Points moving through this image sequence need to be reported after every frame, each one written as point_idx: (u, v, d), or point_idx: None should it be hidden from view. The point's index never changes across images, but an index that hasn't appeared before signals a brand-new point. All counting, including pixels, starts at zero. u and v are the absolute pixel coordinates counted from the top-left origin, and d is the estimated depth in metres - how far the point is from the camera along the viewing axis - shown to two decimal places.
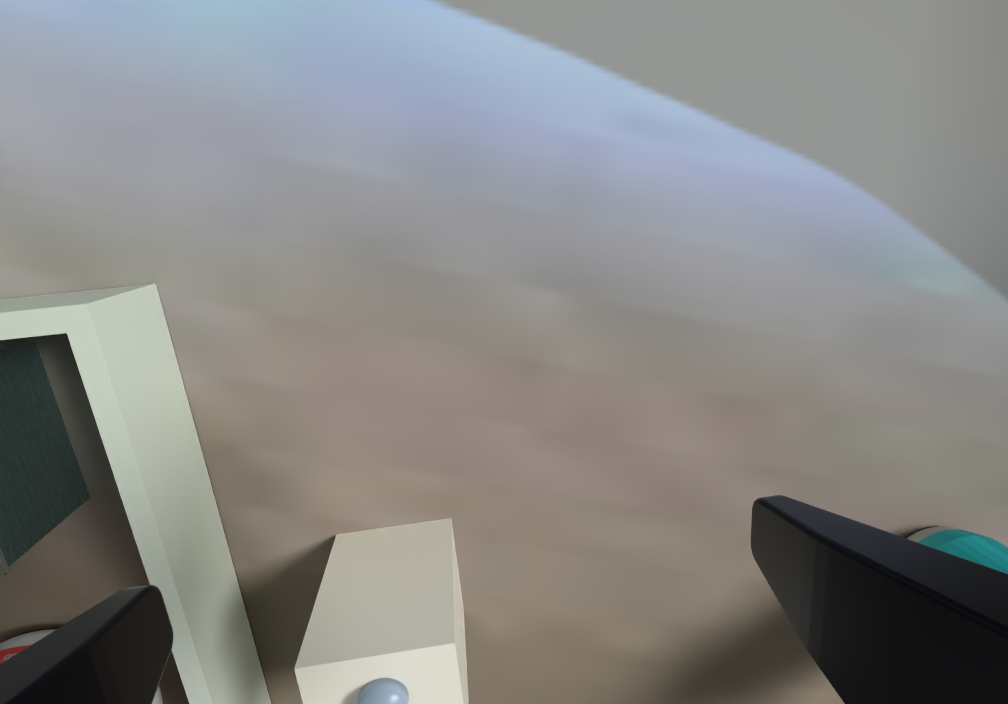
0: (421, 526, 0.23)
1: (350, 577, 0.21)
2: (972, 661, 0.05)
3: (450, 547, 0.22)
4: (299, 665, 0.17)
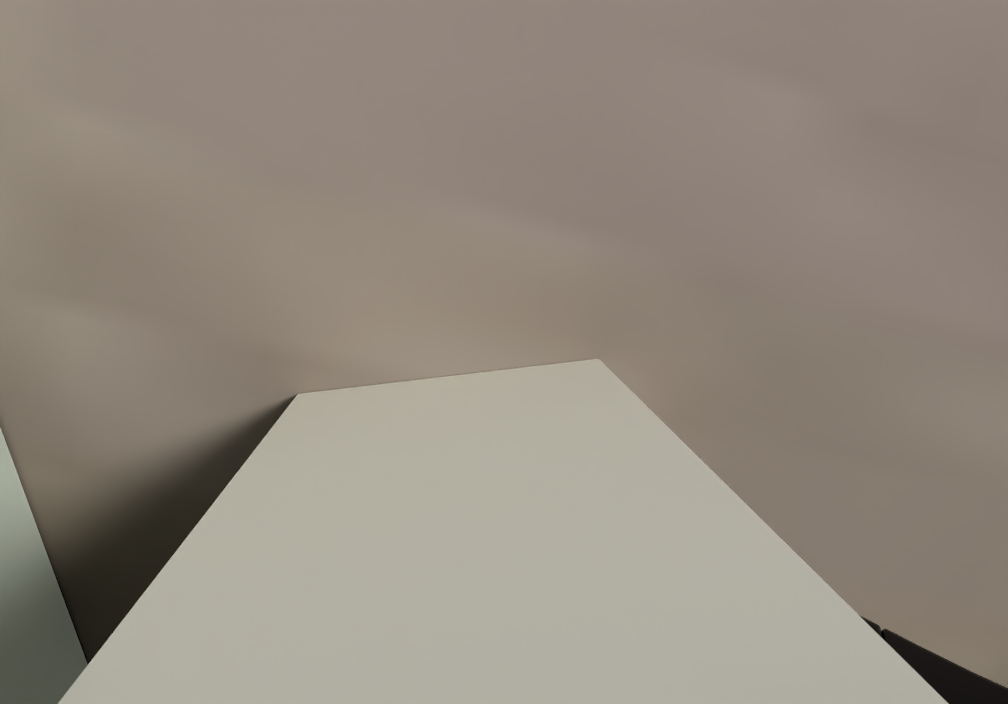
0: (525, 373, 0.09)
1: (326, 475, 0.06)
2: None
3: (637, 402, 0.07)
4: None
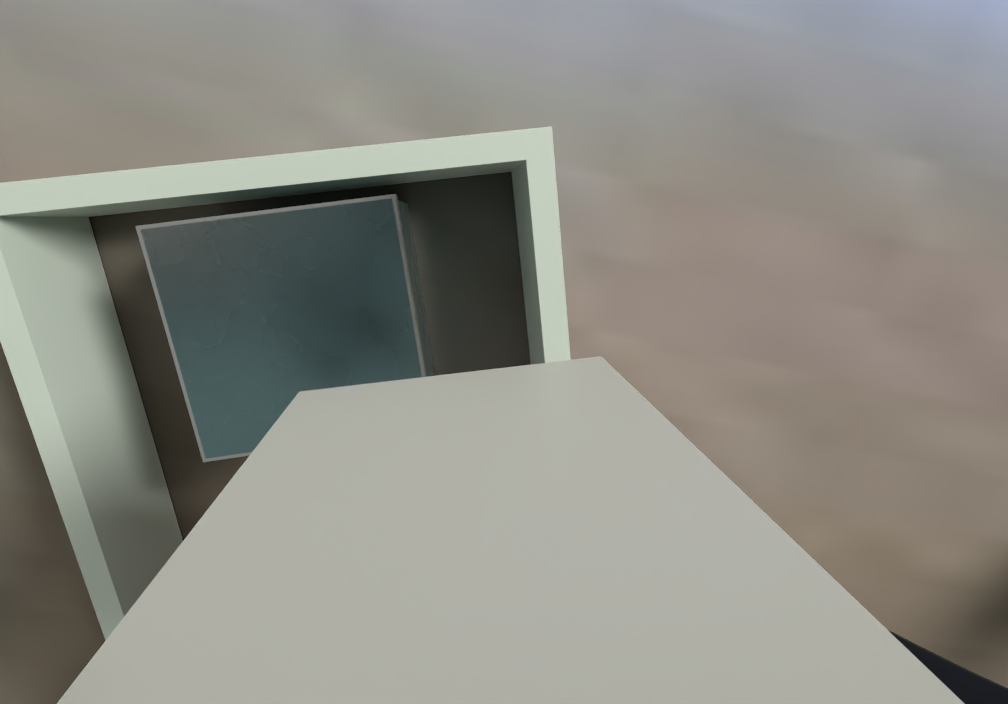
0: (528, 371, 0.09)
1: (328, 472, 0.06)
2: None
3: (641, 399, 0.07)
4: None
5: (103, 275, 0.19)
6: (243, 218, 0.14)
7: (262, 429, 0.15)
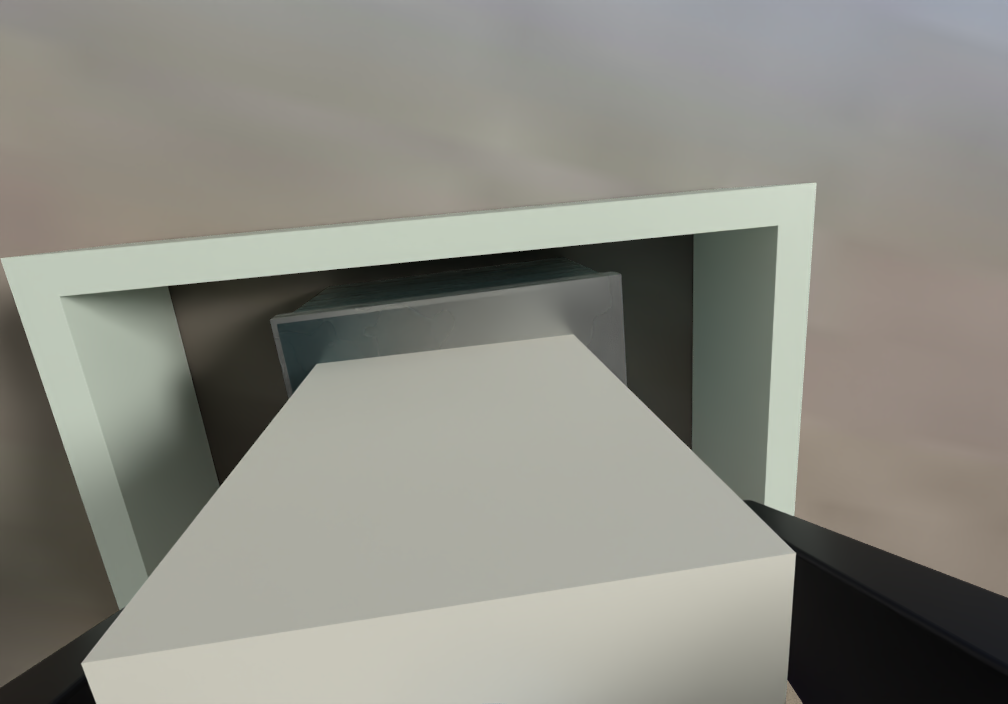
0: (510, 346, 0.10)
1: (348, 417, 0.07)
2: (923, 669, 0.05)
3: (600, 364, 0.09)
4: (112, 648, 0.04)
5: (181, 345, 0.14)
6: (417, 307, 0.10)
7: None
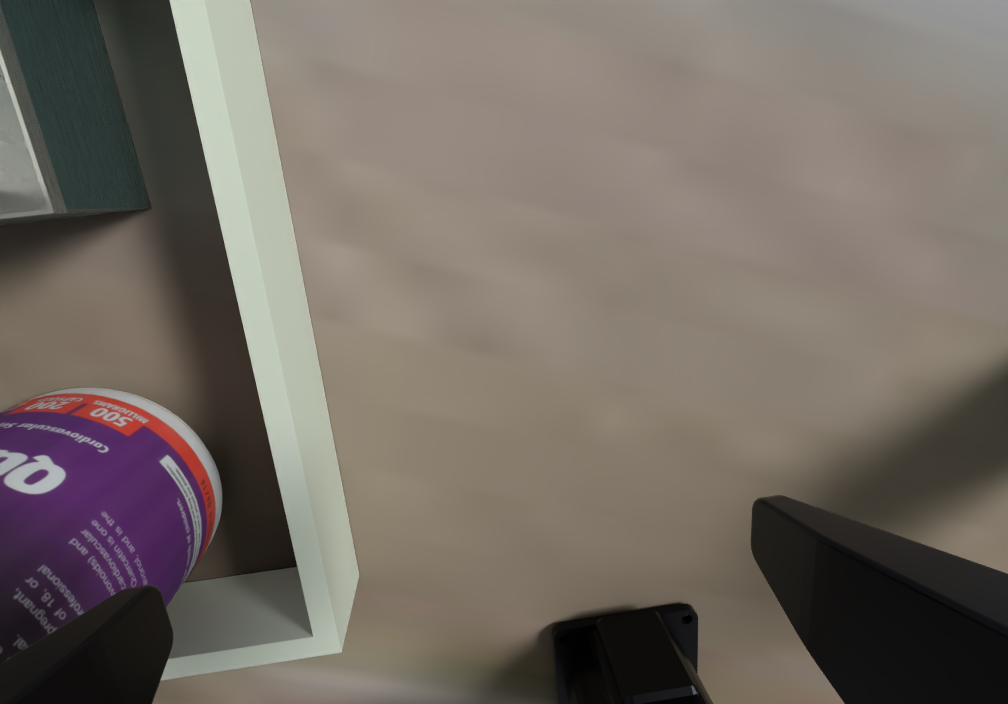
0: None
1: None
2: (973, 661, 0.05)
3: None
4: None
5: None
6: None
7: None
